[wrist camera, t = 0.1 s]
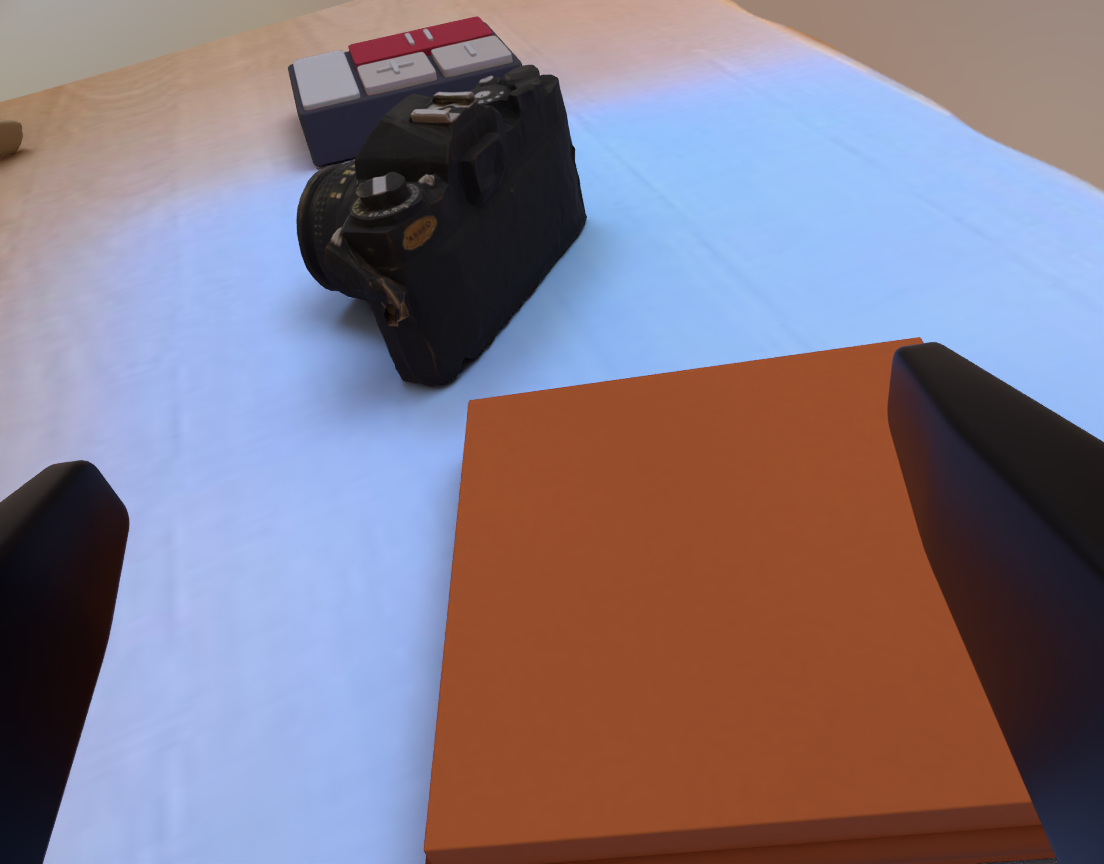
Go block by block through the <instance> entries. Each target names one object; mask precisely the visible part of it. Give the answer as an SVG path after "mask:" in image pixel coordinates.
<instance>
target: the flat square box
mask: <svg viewBox="0 0 1104 864" xmlns="http://www.w3.org/2000/svg"><path fill="white" fill-rule="evenodd" d="M922 343H923V341H922V339H921V338H920V337H918V338H910V339H903V340H896V341H889V342H882V343H875V344H868V345H861V346H854V347H846V348H839V349H832V350H825V351H818V352H811V353H804V354H797V355H789V356H782V357H775V358H768V359H761V360H754V361H747V362H740V363H733V364H725V365H718V366H711V367H704V368H697V369H690V370H683V371H676V372H669V373H661V374H654V375H647V376H640V377H633V378H626V379H619V380H612V381H605V382H597V383H590V384H583V385H576V386H569V387H562V388H555V389H548V390H540V391H533V392H526V393H519V394H512V395H505V396H498V397H491V398H484V399H476V400H470V401H469V403H468V413H467V423H466V433H465V443H464V453H463V463H462V473H461V483H460V493H459V503H458V513H457V523H456V533H455V543H454V553H453V563H452V573H451V583H450V593H449V603H448V613H447V622H446V632H445V642H444V652H443V662H442V672H441V682H440V692H439V702H438V712H437V722H436V732H435V742H434V752H433V762H432V772H431V782H430V792H429V802H428V812H427V822H426V832H425V842H424V852H425V854H426V864H980V863H993V862H1007V861H1021V860H1034V859H1048V858H1056V857H1055V854H1054V852H1053V850H1052V847H1051V845H1050V843H1049V840H1048V838H1047V836H1046V833H1045V831H1044V829H1043V826H1042V824H1041V822H1040V819H1039V817H1038V815H1037V812H1036V810H1035V808H1034V805H1033V803H1032V801H1031V799H1030V796H1029V794H1028V792H1027V789H1026V787H1025V785H1024V782H1023V780H1022V778H1021V775H1020V773H1019V771H1018V768H1017V766H1016V764H1015V761H1014V759H1013V757H1012V754H1011V752H1010V750H1009V747H1008V745H1007V743H1006V740H1005V738H1004V736H1003V733H1002V731H1001V729H1000V726H999V724H998V722H997V719H996V717H995V715H994V712H993V710H992V708H991V705H990V703H989V701H988V699H987V696H986V694H985V692H984V689H983V687H982V685H981V682H980V680H979V678H978V675H977V673H976V671H975V668H974V666H973V664H972V661H971V659H970V657H969V654H968V652H967V650H966V647H965V645H964V643H963V640H962V638H961V636H960V633H959V631H958V629H957V626H956V624H955V622H954V619H953V617H952V615H951V612H950V610H949V608H948V605H947V603H946V601H945V598H944V596H943V594H942V592H941V589H940V587H939V585H938V582H937V580H936V578H935V575H934V573H933V571H932V568H931V566H930V563H929V560H928V558H927V555H926V553H925V550H924V547H923V544H922V541H921V537H920V534H919V531H918V527H917V524H916V520H915V517H914V513H913V510H912V506H911V503H910V499H909V496H908V492H907V489H906V485H905V482H904V478H903V474H902V471H901V467H900V464H899V460H898V457H897V453H896V450H895V446H894V443H893V439H892V436H891V432H890V428H889V423H888V415H887V405H888V396H889V386H890V377H891V368H892V360H893V356H894V353H895V351H896V350H897V349H898V348H900V347H902V346H908V345H915V344H922Z"/></svg>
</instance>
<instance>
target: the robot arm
mask: <svg viewBox="0 0 1104 864" xmlns="http://www.w3.org/2000/svg"><path fill="white" fill-rule="evenodd" d="M887 415H888V423H889V428H890V432H891V436H892V439H893V443H894V446H895V450H896V453H897V457H898V460H899V464H900V467H901V471H902V474H903V478H904V482H905V485H906V489H907V492H908V496H909V499H910V503H911V506H912V510H913V513H914V517H915V520H916V524H917V527H918V531H919V534H920V537H921V541H922V544H923V547H924V550H925V553H926V555H927V558H928V560H929V563H930V566H931V568H932V571H933V573H934V575H935V578H936V580H937V582H938V585H939V587H940V589H941V592H942V594H943V596H944V598H945V601H946V603H947V605H948V608H949V610H950V612H951V615H952V617H953V619H954V622H955V624H956V626H957V629H958V631H959V633H960V636H961V638H962V640H963V643H964V645H965V647H966V650H967V652H968V654H969V657H970V659H971V661H972V664H973V666H974V668H975V671H976V673H977V675H978V678H979V680H980V682H981V685H982V687H983V689H984V692H985V694H986V696H987V699H988V701H989V703H990V705H991V708H992V710H993V712H994V715H995V717H996V719H997V722H998V724H999V726H1000V729H1001V731H1002V733H1003V736H1004V738H1005V740H1006V743H1007V745H1008V747H1009V750H1010V752H1011V754H1012V757H1013V759H1014V761H1015V764H1016V766H1017V768H1018V771H1019V773H1020V775H1021V778H1022V780H1023V782H1024V785H1025V787H1026V789H1027V792H1028V794H1029V796H1030V799H1031V801H1032V803H1033V805H1034V808H1035V810H1036V812H1037V815H1038V817H1039V819H1040V822H1041V824H1042V826H1043V829H1044V831H1045V833H1046V836H1047V838H1048V840H1049V843H1050V845H1051V847H1052V850H1053V852H1054V854H1055V857H1056V859H1057V861H1058V864H1104V442H1103V441H1101V440H1099V439H1098V438H1096V437H1094V436H1093V435H1091V434H1089V433H1088V432H1086V431H1085V430H1083V429H1081V428H1080V427H1078V426H1076V425H1075V424H1073V423H1071V422H1070V421H1068V420H1066V419H1065V418H1063V417H1061V416H1060V415H1058V414H1056V413H1055V412H1053V411H1051V410H1050V409H1048V408H1046V407H1045V406H1043V405H1042V404H1040V403H1038V402H1037V401H1035V400H1033V399H1032V398H1030V397H1028V396H1027V395H1025V394H1023V393H1022V392H1020V391H1018V390H1017V389H1015V388H1013V387H1012V386H1010V385H1008V384H1007V383H1005V382H1003V381H1002V380H1000V379H999V378H997V377H995V376H994V375H992V374H990V373H989V372H987V371H985V370H984V369H982V368H980V367H979V366H977V365H975V364H974V363H972V362H970V361H969V360H967V359H965V358H964V357H962V356H960V355H959V354H957V353H956V352H954V351H952V350H951V349H949V348H947V347H946V346H944V345H942V344H940V343H936V342H929V343H922V344H915V345H908V346H902V347H900V348H898V349H897V350H896V351H895V353H894V356H893V360H892V368H891V377H890V386H889V396H888V405H887ZM128 532H129V516H128V512H127V509H126V507H125V505H124V504H123V502H122V501H121V500H120V498H119V497H118V496H117V494H116V493H115V492H114V490H113V489H112V487H111V486H110V485H109V483H108V482H107V481H106V479H105V478H104V477H103V475H102V474H101V473H100V471H99V470H98V469H97V467H96V466H95V465H93V464H92V463H90V462H88V461H83V460H79V461H72V462H65V463H58V464H53V465H51V466H49V467H47V468H45V469H44V470H43V471H41V472H40V473H39V474H37V475H36V476H35V477H33V478H32V479H31V480H29V481H28V482H27V483H25V484H24V485H23V486H22V487H20V488H19V489H18V490H16V491H15V492H14V493H12V494H11V495H10V496H8V497H7V498H6V499H4V500H3V501H2V502H0V864H43V861H44V858H45V854H46V851H47V848H48V844H49V841H50V838H51V834H52V831H53V827H54V824H55V821H56V817H57V814H58V811H59V807H60V804H61V801H62V797H63V794H64V790H65V787H66V784H67V780H68V777H69V774H70V770H71V767H72V764H73V760H74V757H75V753H76V750H77V747H78V743H79V740H80V737H81V733H82V730H83V727H84V723H85V720H86V716H87V713H88V710H89V706H90V703H91V700H92V696H93V693H94V690H95V686H96V683H97V679H98V676H99V673H100V669H101V666H102V663H103V659H104V655H105V651H106V648H107V644H108V640H109V635H110V630H111V625H112V620H113V615H114V609H115V604H116V598H117V593H118V587H119V582H120V576H121V571H122V565H123V560H124V554H125V549H126V543H127V538H128Z"/></svg>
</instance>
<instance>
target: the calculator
mask: <svg viewBox="0 0 1104 864" xmlns="http://www.w3.org/2000/svg"><path fill="white" fill-rule="evenodd" d="M348 48H349V51H348V52H343V51H342V50H337V51H333V52H328V53H324V54H320V55H315V56H311V57H306V58H302V59H297V60H294V61H293V64H291V65H290V66H289V67H288V71H289V76H290V80H291V85H292V89H293V94H294V99H295V103H296V108H297V112H298V116H299V120H300V123H301V126H302V129H303V132H304V135H305V138H306V141H307V145H308V148H309V151H310V154H311V157H312V160H313V163H314V164H315V165H317V166H321V165H325V164H329V163H334V162H338V161H342V160H346V159H350V158H354V157H357V154H358V153H359V151H360V150H361V148H362V147H363V145H364V144H365V142H366V141H367V139H368V137H369V136H370V134H371V133H372V131H373V129H374V128H375V126H376V125H377V123H378V122H379V120H380V119H381V118H382V117H383V116H384V115H385V114H386V113H388V112H389V111H390V110H391V109H392V108H393V107H395V106H396V105H397V104H398V103H399V102H401V101H402V100H403V99H404V98H406V97H408V96H409V95H411V94H417V95H423V96H428V97H432V98H433V96H434V95H435V94H437V93H438V92H468V91H470V90H472V89H475V88H474V87H475V86H476V85H477V84H478V83H479V81H480V80H481V79H484V78H487V77H489V76H493V77H499V78H500V79H501V80H503V76H504V75H505V74H506V73H508V72H509V71H511V70H513V69H515V68H517V67H519V66H522V63H521V61H520V60H519V59H518V58H517V57H516V56H515V55H514V54H513V53H512V51H511V50H510V49H509V48H508V47H507V46H506V45H505V44H504V43H503V42H502V40H501V39H500V38H499V37H498V36H497V35H496V34H495V33H494V32H493V30H492V29H491V28H490V27H489V26H488V25H487V24H486V23H485V22H483V21H482V20H481V19H480V18H479V17H472V18H467V19H463V20H458V21H454V22H449V23H445V24H440V25H436V26H431V27H427V28H422V29H418V30H414V31H409V32H405V33H400V34H396V35H391V36H387V37H382V38H378V39H373V40H369V41H364V42H360V43H355V44H351V45H349V46H348Z"/></svg>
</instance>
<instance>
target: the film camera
mask: <svg viewBox="0 0 1104 864" xmlns="http://www.w3.org/2000/svg"><path fill="white" fill-rule="evenodd" d="M474 88H475V89H472V90H470V91H468V92H438V93H437V94H435V95H434V96H433V98H432V97H428V96H423V95H417V94H411V95H409V96H408V97H406V98H404V99H403V100H402V101H401V102H399V103H398V104H397V105H396V106H395V107H393V108H392V109H391V110H390V111H389V112H388V113H386V114H385V115H384V116H383V117H382V118H381V119H380V120H379V122H378V123H377V125H376V126H375V128H374V129H373V131H372V133H371V134H370V136H369V137H368V139H367V141H366V142H365V144H364V145H363V147H362V148H361V150H360V151H359V153H358V154H357V157H356V159H355V160H354V161H351V162H348V163H345V164H339V163H338V164H334V165H331V166H327V167H325V168H323V169H321V170H319V171H318V172H316V173H315V174H314V175H313V176H312V177H311V178H310V180H309V181H308V183H307V185H306V187H305V189H304V191H303V193H302V195H301V198H300V201H299V205H298V209H297V236H298V241H299V246H300V251H301V255H302V257H303V260H304V263H305V265H306V268H307V270H308V271H309V272H310V274H311V275H312V277H313V278H314V279H315V280H316V281H317V282H318V283H319V284H320V285H321V286H323V287H324V288H325V289H328V290H331V291H340V292H341V293H343V294H344V295H346V296H349V297H353V298H358V299H363V300H368V302H369V304H370V306H371V309H372V311H373V313H374V315H375V318H376V321H377V324H378V326H379V329H380V331H381V333H382V335H383V338H384V340H385V343H386V345H387V348H388V350H389V353H390V356H391V358H392V360H393V362H394V364H395V368H396V370H397V371H398V373H399V374H400V376H401V378H402V380H404V381H407V382H408V381H411V382H417V383H422V384H425V385H430V386H433V385H443V384H444V383H447V382H448V381H450V380H452V379H453V378H456V377H457V376H458V374H459V373H461V371H460V368H461V365H462V363H463V359H464V358H465V357H467V358H476V357H477V356H478V355H480V354H481V352H482V351H484V350H483V349H484V347H485V346H486V345H489V344H491V342H492V340H493V338H494V337H495V335H496V334H497V332H498V331H499V329H501V328H502V326H503V325H504V324H506V323H507V322H508V321H509V319H510V318H511V317H510V316H511V315H513V314H514V311H517V308H520V307H521V305H522V302H523V301H524V300H526V297H528V296H529V295H530V294H531V293H532V292H533V290H534V289H535V288H536V287H537V285H538V284H539V282H540V280H541V279H543V277H544V275H545V274H546V273H547V272H548V270H549V269H550V268H551V267H552V265H553V264H554V263H555V261H556V260H557V259H558V258H559V257H560V256H561V255H562V254H563V253H565V250H566V249H567V248H568V247H569V245H570V244H571V243H572V241H573V240H574V239H575V238H576V237H577V236H578V235H579V232H580V231H581V230H582V228H583V226H584V224H585V221H586V218H587V216H586V214H585V209H584V203H583V198H582V193H581V187H580V179H579V176H578V172H577V168H576V164H575V148H574V146H573V145H572V141H571V136H570V131H569V126H568V120H567V113H566V109H565V106H564V102H563V98H562V94H561V90H560V85H559V80H558V78H557V77H555V76H553V75H541V76H540V74H539V70H538V68H536V67H535V66H534V65H525V66H519V67H517V68H515V69H513V70H511V71H509V72H508V73H506V74H505V75H504V76H503V80H501V79H500V78H499V77H493V76H489V77H487V78H484V79H481V80H480V81H479V83H478V84H477V85H476V86H475V87H474Z"/></svg>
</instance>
